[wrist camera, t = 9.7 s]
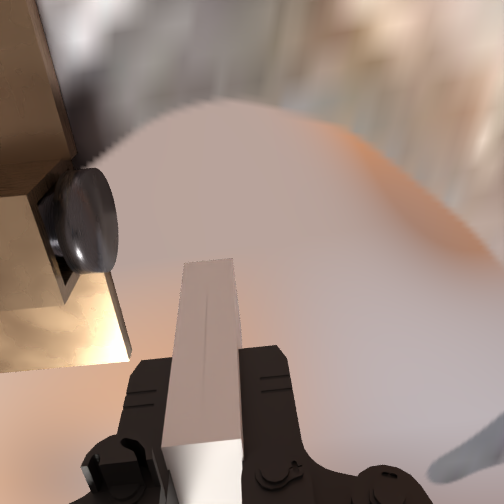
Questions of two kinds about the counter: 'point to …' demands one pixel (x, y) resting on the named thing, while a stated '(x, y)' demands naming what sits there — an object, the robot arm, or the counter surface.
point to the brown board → (30, 221)
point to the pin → (82, 221)
